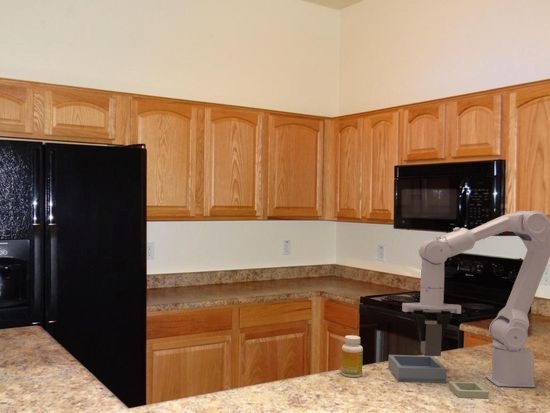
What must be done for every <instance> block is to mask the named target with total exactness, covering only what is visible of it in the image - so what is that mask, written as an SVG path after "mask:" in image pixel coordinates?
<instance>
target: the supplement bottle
mask: <svg viewBox="0 0 550 413" xmlns="http://www.w3.org/2000/svg"><path fill="white" fill-rule="evenodd" d="M344 343H345V344H343V345H342V347H341V364H340V365H341V367H340V373H341V375H342V376H344V377H347V378H358V377H361V376H362V375H363V359H364V358H363V355H364V354H363V353H364V348H363V346H362V345H361V337H360V336H359V335H351V334H350V335H348V334H347V335H345V336H344Z"/></svg>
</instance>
